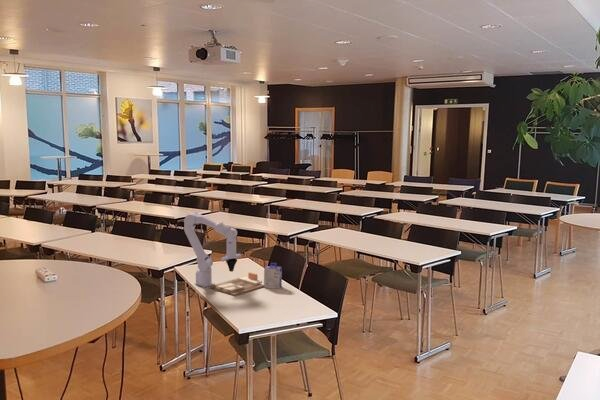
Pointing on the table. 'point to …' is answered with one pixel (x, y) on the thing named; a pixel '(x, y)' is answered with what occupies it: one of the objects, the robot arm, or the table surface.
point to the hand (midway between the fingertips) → (231, 271)
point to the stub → (251, 279)
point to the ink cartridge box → (273, 276)
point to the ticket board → (235, 287)
